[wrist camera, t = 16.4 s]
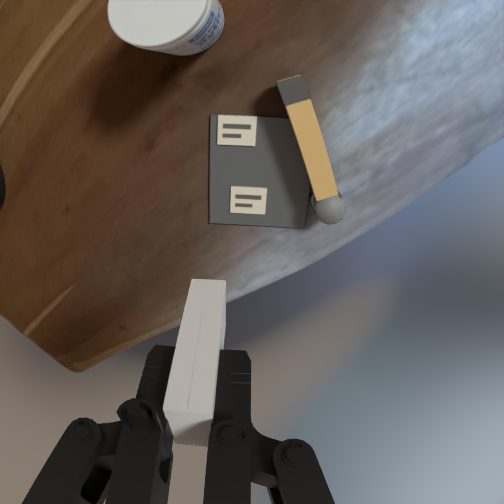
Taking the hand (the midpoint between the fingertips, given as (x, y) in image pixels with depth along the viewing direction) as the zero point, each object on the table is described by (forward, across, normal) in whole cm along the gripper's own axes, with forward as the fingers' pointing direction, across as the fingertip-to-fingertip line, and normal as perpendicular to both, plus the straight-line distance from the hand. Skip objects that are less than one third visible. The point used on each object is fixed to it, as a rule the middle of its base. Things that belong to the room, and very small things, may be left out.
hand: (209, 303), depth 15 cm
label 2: (+32, +2, -8) cm, 33 cm away
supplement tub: (+32, -7, +17) cm, 37 cm away
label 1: (+32, 0, +2) cm, 32 cm away
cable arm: (+30, +10, 0) cm, 32 cm away
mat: (+32, +3, -4) cm, 32 cm away
